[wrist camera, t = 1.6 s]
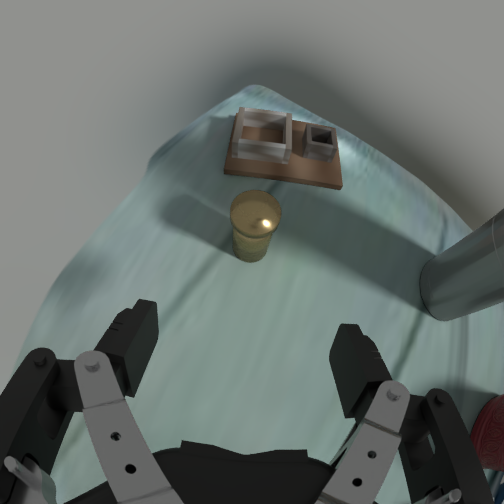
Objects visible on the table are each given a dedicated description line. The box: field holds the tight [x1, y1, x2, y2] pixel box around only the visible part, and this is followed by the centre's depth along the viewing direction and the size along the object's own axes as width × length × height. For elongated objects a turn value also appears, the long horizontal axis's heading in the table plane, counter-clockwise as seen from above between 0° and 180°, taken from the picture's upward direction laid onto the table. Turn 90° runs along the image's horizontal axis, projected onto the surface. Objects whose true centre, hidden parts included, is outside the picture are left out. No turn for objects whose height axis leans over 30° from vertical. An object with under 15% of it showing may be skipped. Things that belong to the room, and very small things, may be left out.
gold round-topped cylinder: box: [230, 190, 281, 263], centre depth 29 cm, size 5×5×8 cm
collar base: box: [224, 107, 343, 190], centre depth 37 cm, size 16×12×4 cm
